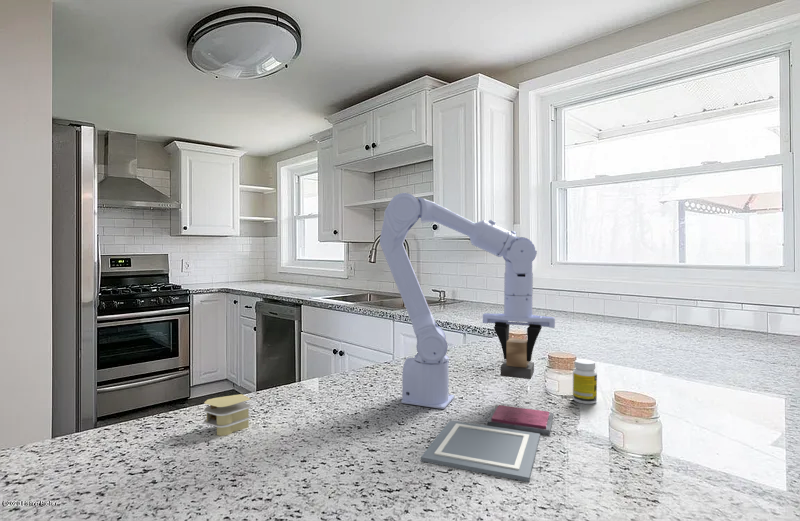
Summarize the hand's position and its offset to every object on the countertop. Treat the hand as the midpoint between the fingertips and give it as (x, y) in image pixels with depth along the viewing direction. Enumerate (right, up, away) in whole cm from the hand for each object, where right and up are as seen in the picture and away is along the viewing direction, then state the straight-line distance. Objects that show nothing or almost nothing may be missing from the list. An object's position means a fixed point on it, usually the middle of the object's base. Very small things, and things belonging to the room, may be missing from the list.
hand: (517, 359), depth 94 cm
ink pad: (-2, -9, -10) cm, 14 cm away
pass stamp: (0, -3, 0) cm, 3 cm away
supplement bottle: (+15, -9, +2) cm, 18 cm away
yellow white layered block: (-56, -10, -13) cm, 58 cm away
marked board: (-11, -10, -21) cm, 26 cm away
